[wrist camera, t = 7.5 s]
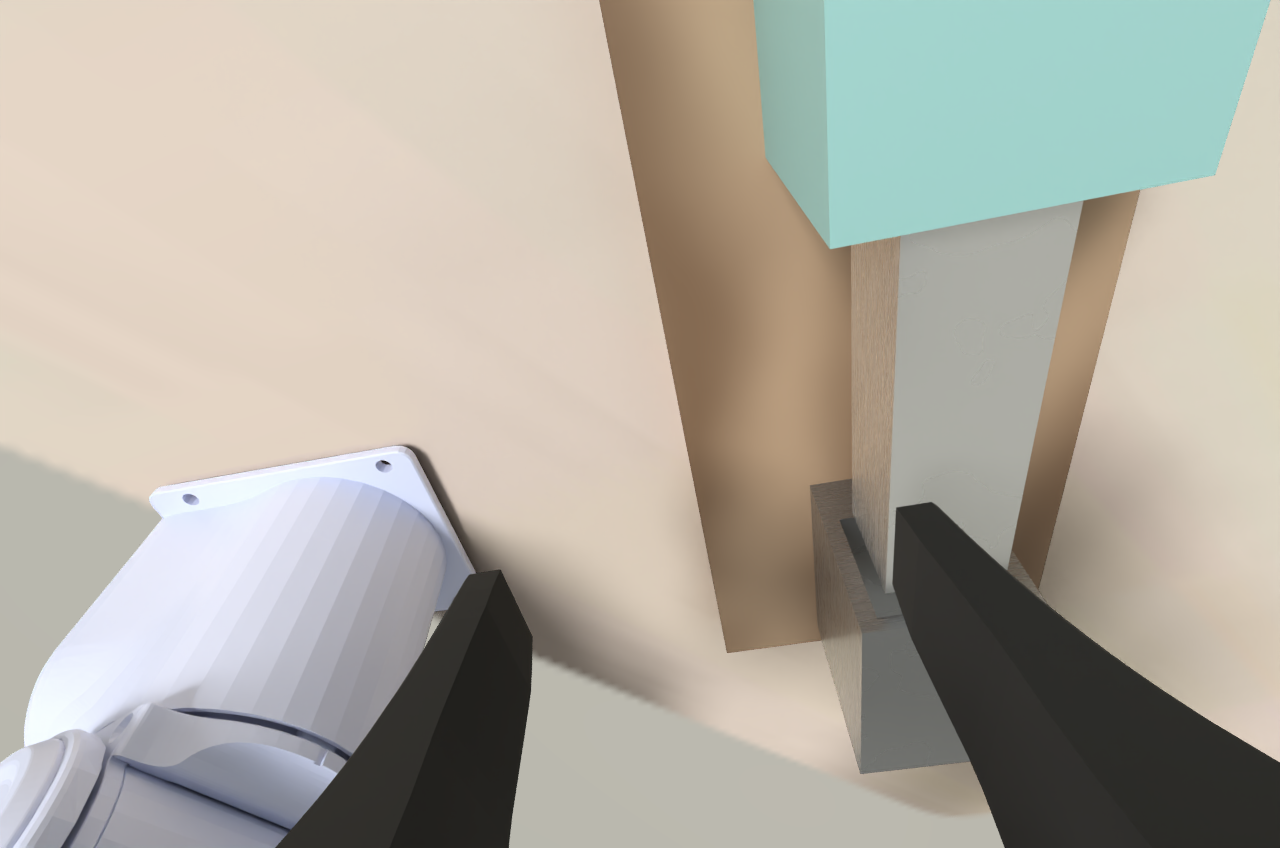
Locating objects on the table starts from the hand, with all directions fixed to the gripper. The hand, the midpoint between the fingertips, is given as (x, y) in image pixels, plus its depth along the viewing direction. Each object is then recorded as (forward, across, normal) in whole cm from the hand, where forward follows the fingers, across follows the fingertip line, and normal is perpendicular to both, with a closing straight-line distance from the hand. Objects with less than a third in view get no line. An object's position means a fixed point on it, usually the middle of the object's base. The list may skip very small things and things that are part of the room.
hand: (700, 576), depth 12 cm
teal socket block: (+8, -6, -7) cm, 12 cm away
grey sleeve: (+8, -6, +9) cm, 13 cm away
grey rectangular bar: (+6, -6, -1) cm, 8 cm away
